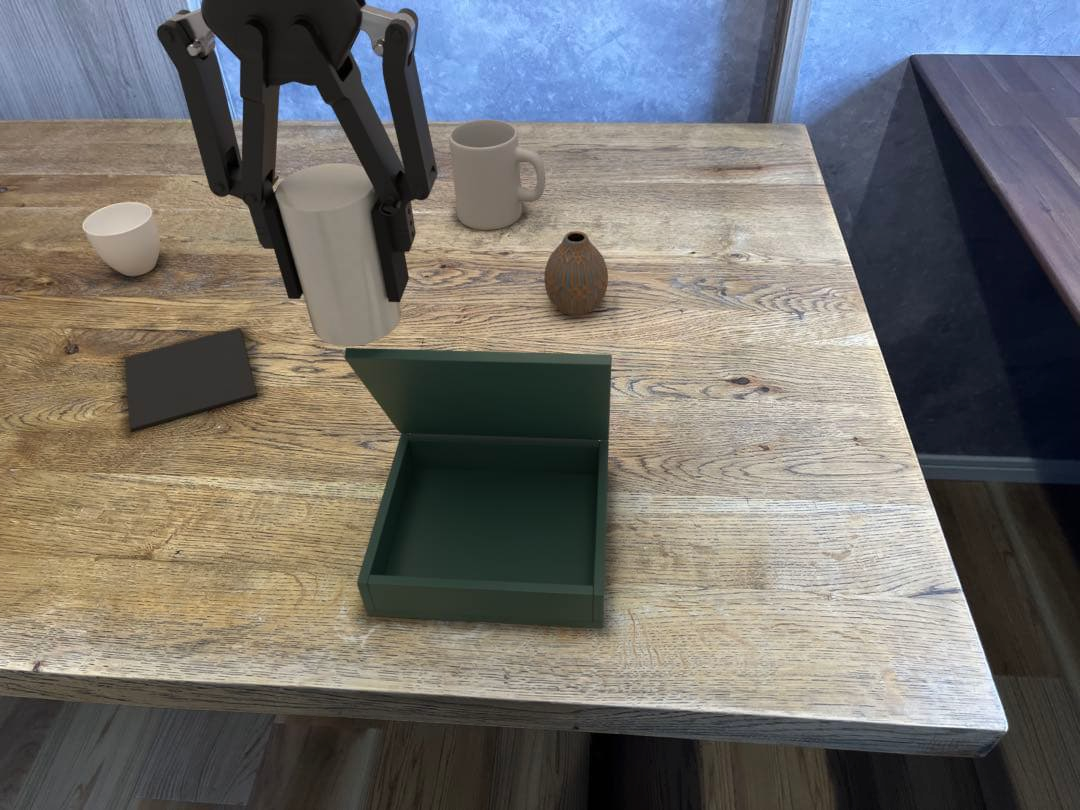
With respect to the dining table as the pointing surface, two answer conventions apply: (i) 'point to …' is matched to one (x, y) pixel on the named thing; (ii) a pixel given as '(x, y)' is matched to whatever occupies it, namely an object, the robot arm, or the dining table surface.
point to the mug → (491, 174)
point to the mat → (187, 378)
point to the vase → (576, 275)
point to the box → (491, 531)
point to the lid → (489, 392)
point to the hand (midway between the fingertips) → (349, 288)
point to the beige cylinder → (337, 253)
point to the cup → (125, 237)
